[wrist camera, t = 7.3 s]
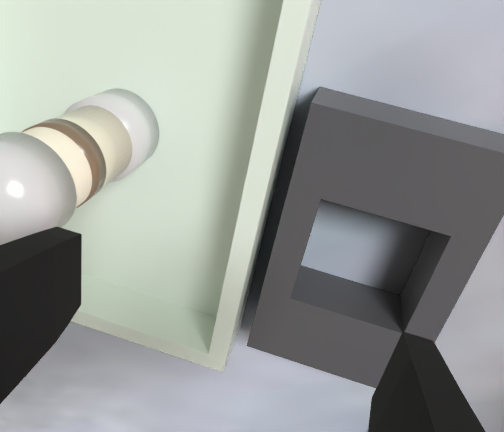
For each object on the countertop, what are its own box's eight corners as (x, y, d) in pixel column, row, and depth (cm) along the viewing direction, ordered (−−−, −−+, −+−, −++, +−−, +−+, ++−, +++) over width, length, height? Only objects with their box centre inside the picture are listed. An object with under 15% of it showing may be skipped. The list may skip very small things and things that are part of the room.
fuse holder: (401, 355, 22) (404, 397, 20) (259, 310, 22) (246, 345, 20) (511, 136, 16) (532, 160, 14) (319, 86, 17) (311, 102, 15)
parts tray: (239, 328, 23) (222, 372, 21) (-2, 250, 25) (-46, 281, 22) (364, -174, 13) (361, -209, 11) (-47, -253, 15) (-136, -301, 12)
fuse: (155, 173, 20) (35, 278, 13) (87, 153, 20) (-67, 245, 13) (162, 99, 18) (30, 174, 11) (88, 79, 18) (-85, 140, 12)
